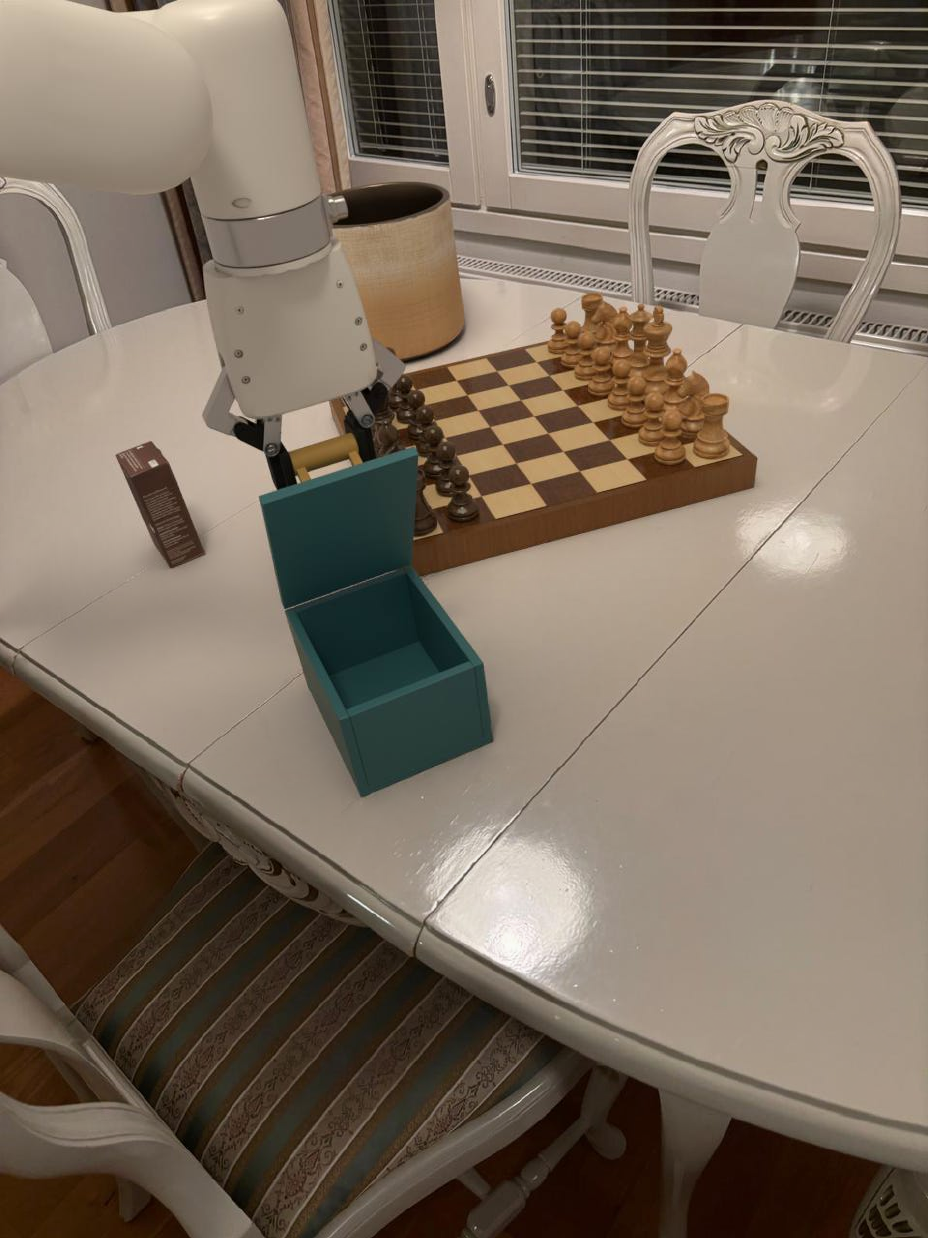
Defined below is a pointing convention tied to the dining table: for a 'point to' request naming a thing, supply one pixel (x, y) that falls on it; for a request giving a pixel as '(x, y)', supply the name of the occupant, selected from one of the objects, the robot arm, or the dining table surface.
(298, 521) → the lid
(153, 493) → the box
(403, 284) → the planter
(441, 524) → the chess set
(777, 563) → the dining table surface
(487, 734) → the chest
